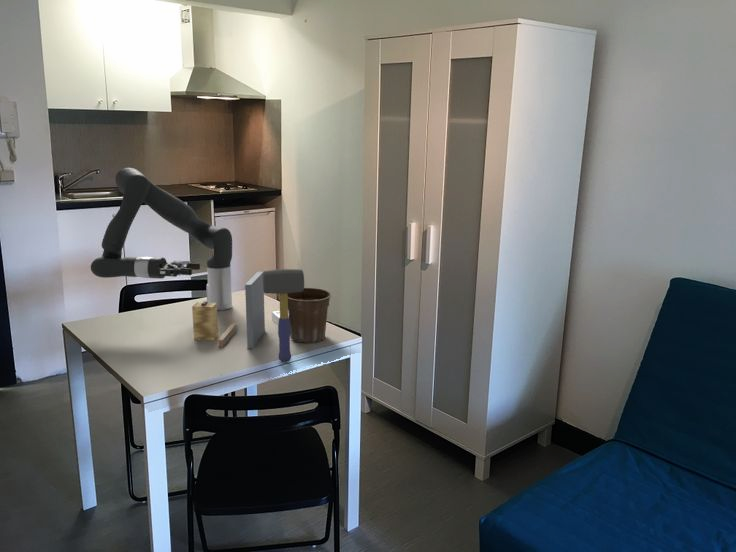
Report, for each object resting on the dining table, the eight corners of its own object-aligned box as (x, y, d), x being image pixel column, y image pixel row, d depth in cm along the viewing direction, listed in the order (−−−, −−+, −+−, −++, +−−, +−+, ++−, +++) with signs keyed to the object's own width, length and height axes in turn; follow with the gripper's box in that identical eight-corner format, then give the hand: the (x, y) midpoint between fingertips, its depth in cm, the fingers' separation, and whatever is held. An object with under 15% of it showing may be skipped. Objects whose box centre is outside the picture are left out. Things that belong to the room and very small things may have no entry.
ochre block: (194, 339, 209) (192, 304, 206) (198, 334, 213) (196, 300, 210) (213, 340, 208) (212, 304, 205) (218, 335, 213) (216, 300, 210)
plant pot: (340, 338, 212) (340, 294, 208) (302, 349, 201) (302, 302, 197) (313, 327, 223) (313, 285, 220) (276, 336, 213) (275, 292, 209)
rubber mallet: (266, 367, 185) (263, 273, 178) (264, 358, 192) (261, 267, 185) (306, 364, 188) (305, 271, 181) (302, 355, 195) (301, 265, 188)
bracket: (301, 328, 223) (301, 308, 221) (283, 330, 220) (282, 310, 218) (289, 318, 234) (289, 299, 233) (272, 320, 231) (271, 301, 230)
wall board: (218, 347, 202) (215, 283, 197) (232, 329, 219) (230, 271, 214) (253, 348, 201) (251, 284, 196) (264, 330, 219) (263, 271, 213)
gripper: (141, 261, 205) (188, 262, 204) (157, 253, 219) (201, 254, 218) (143, 282, 206) (189, 284, 206) (159, 273, 220) (202, 274, 220)
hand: (195, 269), depth 212 cm, fingers open, 8 cm apart
